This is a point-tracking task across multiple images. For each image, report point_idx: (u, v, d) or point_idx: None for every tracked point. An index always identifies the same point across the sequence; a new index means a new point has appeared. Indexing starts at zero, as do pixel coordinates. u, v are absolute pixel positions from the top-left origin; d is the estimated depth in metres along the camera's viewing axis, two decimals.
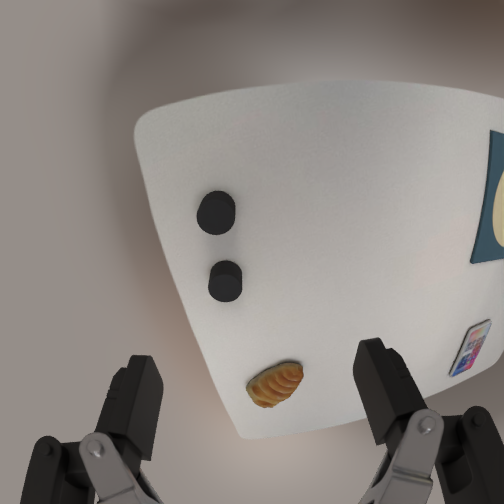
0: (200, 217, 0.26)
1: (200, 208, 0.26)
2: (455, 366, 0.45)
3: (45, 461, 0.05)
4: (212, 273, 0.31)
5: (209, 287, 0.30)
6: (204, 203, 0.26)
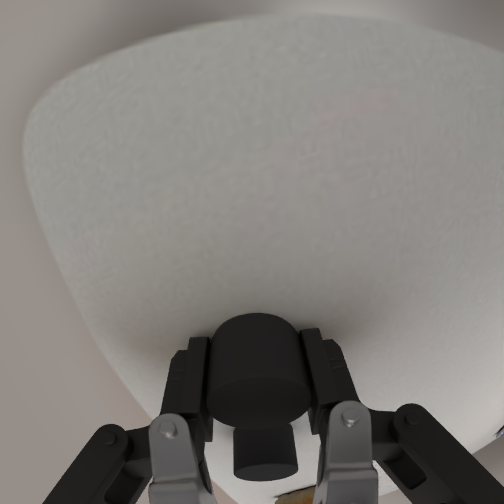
0: (216, 406, 0.08)
1: (215, 392, 0.08)
2: None
3: (104, 450, 0.06)
4: (240, 449, 0.13)
5: (236, 473, 0.12)
6: (227, 383, 0.08)
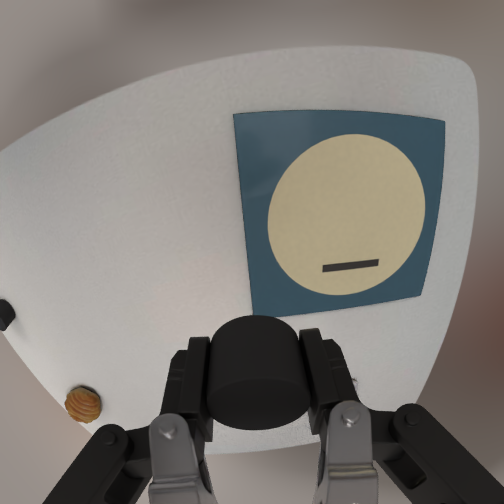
0: (216, 407, 0.09)
1: (215, 393, 0.08)
2: None
3: (104, 450, 0.06)
4: None
5: None
6: (227, 385, 0.08)
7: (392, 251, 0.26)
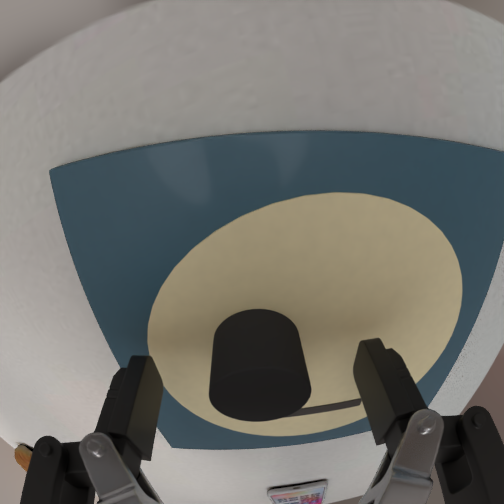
0: (219, 398, 0.09)
1: (218, 384, 0.09)
2: None
3: (45, 461, 0.05)
4: None
5: None
6: (230, 375, 0.08)
7: None
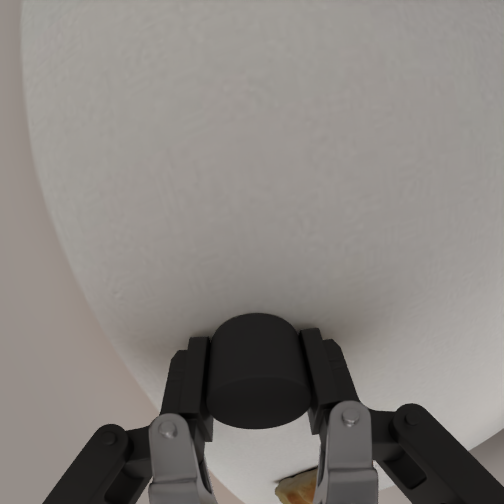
0: None
1: None
2: None
3: (104, 450, 0.06)
4: (217, 359, 0.09)
5: (209, 404, 0.08)
6: None
7: None
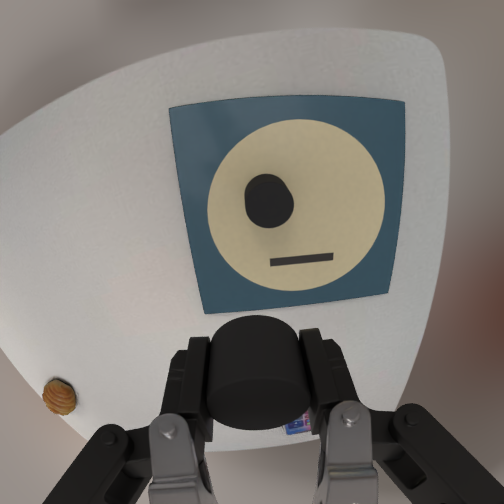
0: (250, 205, 0.21)
1: (250, 194, 0.20)
2: None
3: (104, 450, 0.06)
4: (217, 360, 0.09)
5: (209, 405, 0.08)
6: (256, 187, 0.20)
7: (349, 244, 0.26)
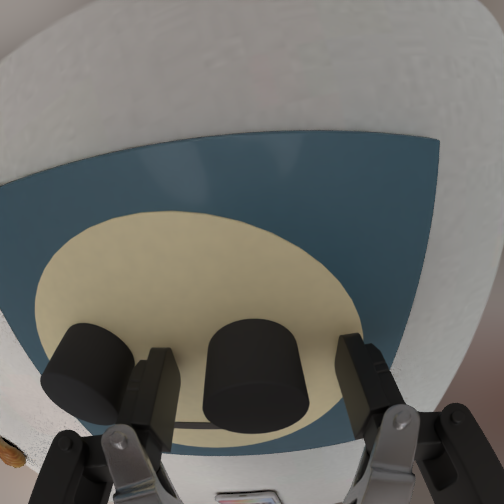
0: (51, 395, 0.08)
1: (42, 382, 0.08)
2: None
3: (64, 455, 0.05)
4: (214, 365, 0.09)
5: (206, 410, 0.08)
6: (44, 376, 0.08)
7: None
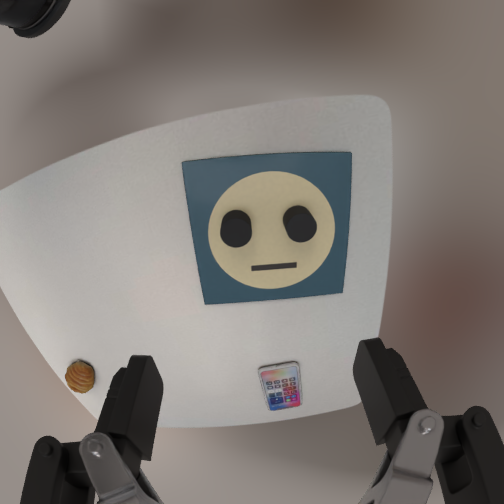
0: (223, 233, 0.32)
1: (223, 225, 0.32)
2: (266, 401, 0.51)
3: (45, 461, 0.05)
4: (288, 214, 0.33)
5: (287, 226, 0.32)
6: (226, 221, 0.31)
7: (308, 256, 0.37)
